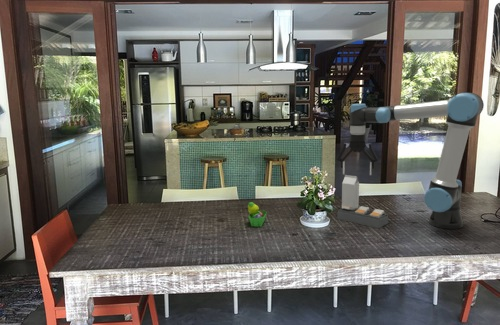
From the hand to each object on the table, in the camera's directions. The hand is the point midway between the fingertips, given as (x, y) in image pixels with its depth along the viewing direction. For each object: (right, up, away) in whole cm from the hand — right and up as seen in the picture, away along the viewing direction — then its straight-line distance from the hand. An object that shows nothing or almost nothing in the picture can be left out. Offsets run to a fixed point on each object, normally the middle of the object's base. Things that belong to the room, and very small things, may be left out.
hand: (357, 174), depth 211 cm
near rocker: (+7, -20, -11) cm, 23 cm away
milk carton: (+1, -20, +19) cm, 28 cm away
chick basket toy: (-53, -25, -5) cm, 59 cm away
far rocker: (-4, -18, 0) cm, 19 cm away
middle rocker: (+1, -19, -5) cm, 20 cm away
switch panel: (+1, -24, -4) cm, 24 cm away
